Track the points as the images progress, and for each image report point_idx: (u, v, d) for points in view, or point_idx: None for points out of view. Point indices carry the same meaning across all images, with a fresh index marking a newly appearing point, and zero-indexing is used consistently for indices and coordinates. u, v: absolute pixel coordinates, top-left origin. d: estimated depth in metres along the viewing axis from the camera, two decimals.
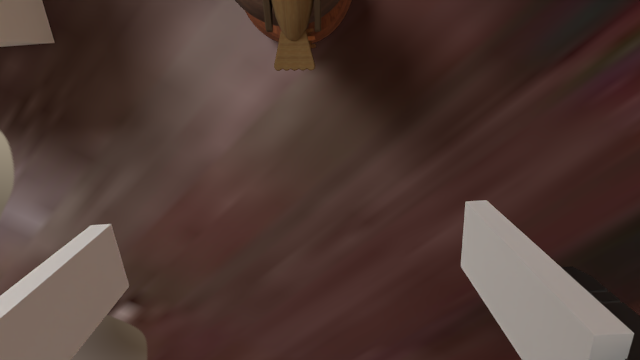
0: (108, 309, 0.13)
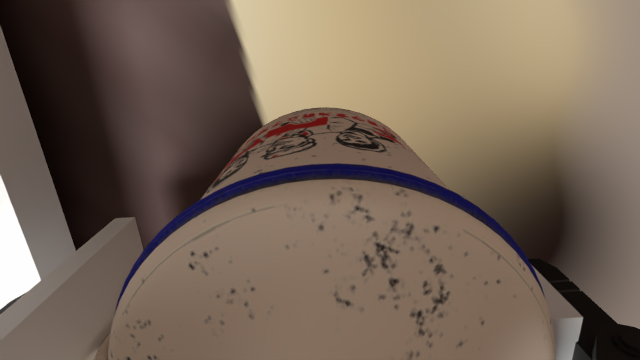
0: None
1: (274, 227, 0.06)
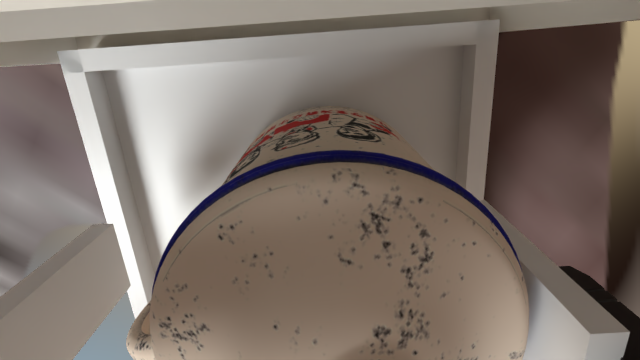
0: (110, 308, 0.13)
1: (286, 202, 0.07)
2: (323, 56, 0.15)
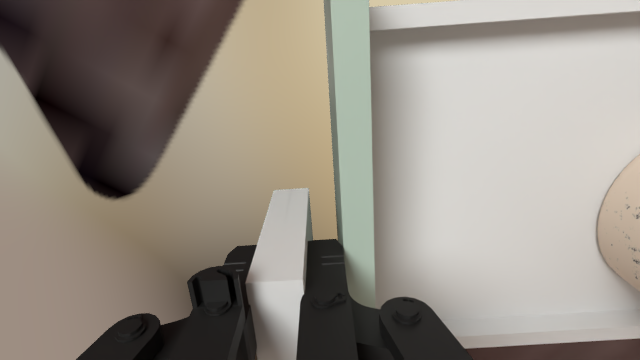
0: None
1: None
2: None
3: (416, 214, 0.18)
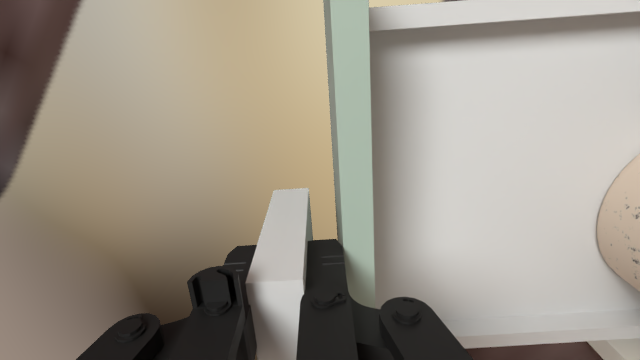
0: None
1: None
2: None
3: (416, 214, 0.18)
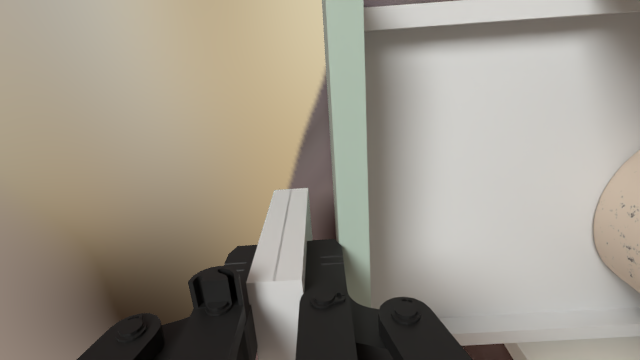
0: None
1: None
2: None
3: (413, 212, 0.18)
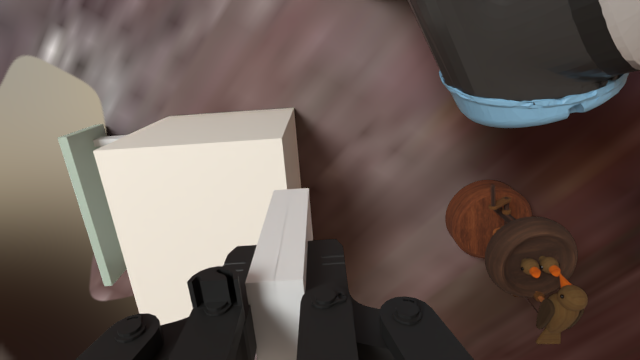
0: None
1: None
2: None
3: None
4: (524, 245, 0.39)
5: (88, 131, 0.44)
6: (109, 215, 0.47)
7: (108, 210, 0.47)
